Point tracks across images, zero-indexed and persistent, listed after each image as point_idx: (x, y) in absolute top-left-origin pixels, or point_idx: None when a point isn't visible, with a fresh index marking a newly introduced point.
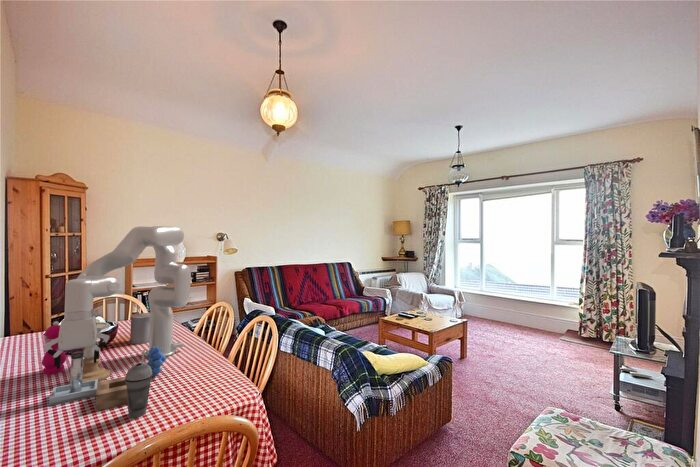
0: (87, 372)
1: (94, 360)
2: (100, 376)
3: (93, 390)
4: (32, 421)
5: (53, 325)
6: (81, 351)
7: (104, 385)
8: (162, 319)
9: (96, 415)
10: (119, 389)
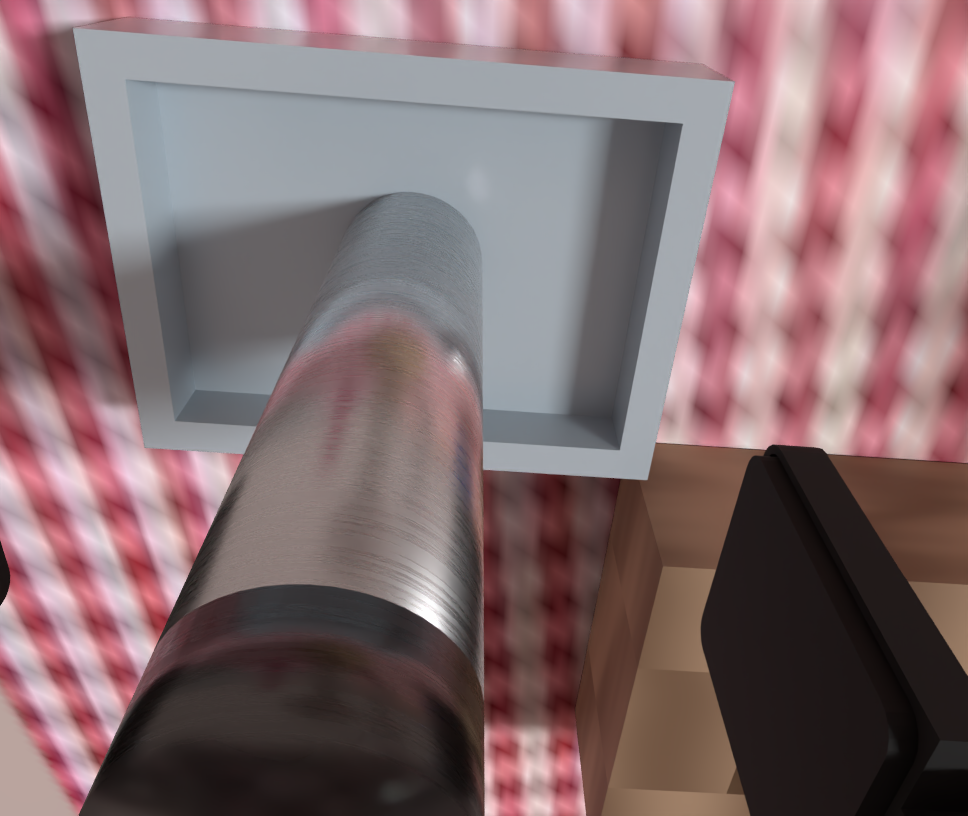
0: None
1: (725, 682)
2: None
3: (605, 467)
4: (127, 618)
5: None
6: (403, 779)
7: (708, 704)
8: None
9: (571, 766)
10: None
